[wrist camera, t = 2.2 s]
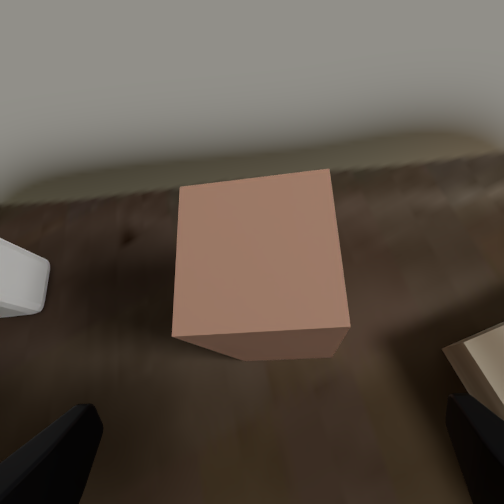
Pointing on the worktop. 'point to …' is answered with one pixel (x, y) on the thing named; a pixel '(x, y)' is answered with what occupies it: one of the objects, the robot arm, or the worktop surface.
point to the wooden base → (481, 366)
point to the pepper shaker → (21, 281)
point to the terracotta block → (260, 268)
